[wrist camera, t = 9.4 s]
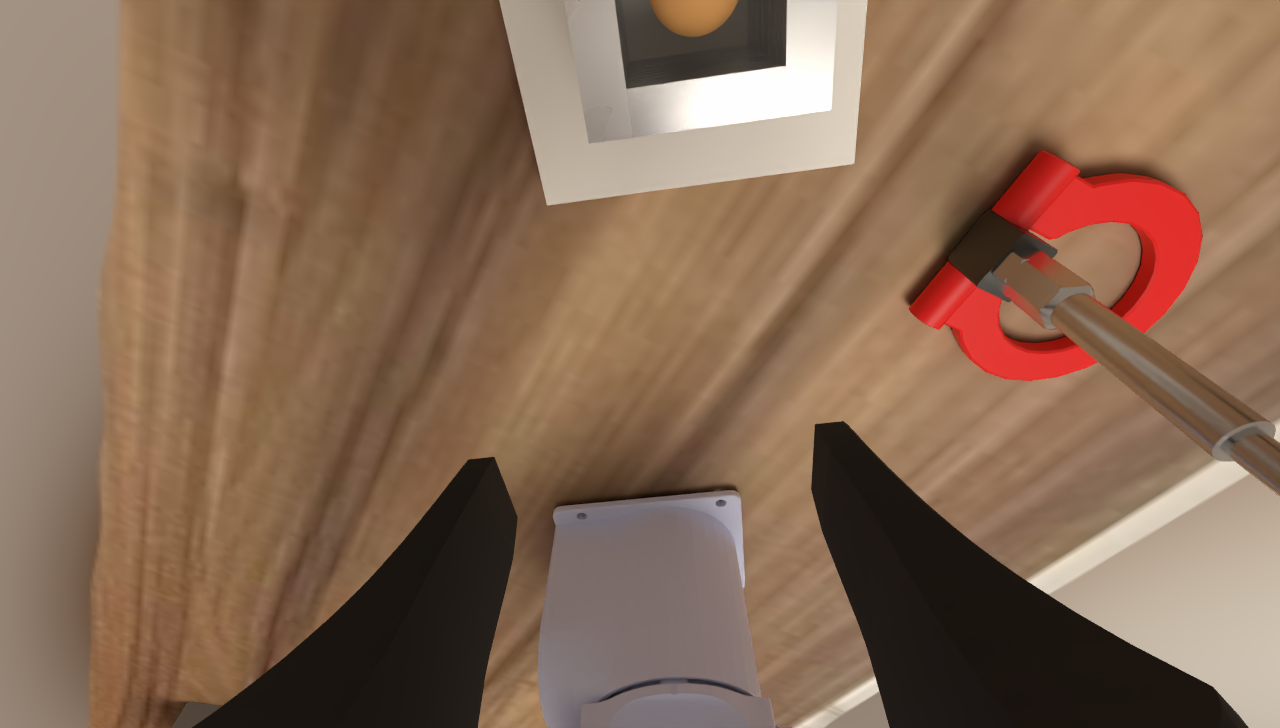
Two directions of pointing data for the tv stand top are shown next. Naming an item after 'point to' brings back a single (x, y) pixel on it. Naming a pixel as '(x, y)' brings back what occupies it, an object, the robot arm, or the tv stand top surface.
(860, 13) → the plate
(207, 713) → the dice cube
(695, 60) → the hollow square tube
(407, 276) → the tv stand top surface
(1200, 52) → the tv stand top surface
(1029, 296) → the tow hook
